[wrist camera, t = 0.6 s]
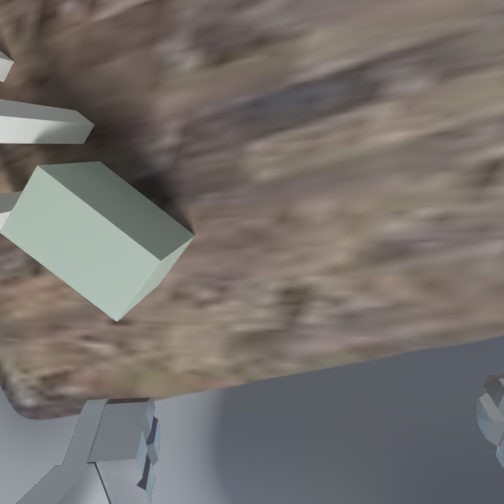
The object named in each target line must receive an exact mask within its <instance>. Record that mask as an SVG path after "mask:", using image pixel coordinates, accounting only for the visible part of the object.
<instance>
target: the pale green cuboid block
mask: <svg viewBox="0 0 504 504" xmlns="http://www.w3.org/2000/svg"><path fill="white" fill-rule="evenodd" d="M0 233H1V234H3V235H4V236H5V237H7V238H8V239H9V240H11V241H12V242H13V243H15V244H16V245H17V246H18V247H20V248H21V249H22V250H24V251H25V252H26V253H28V254H29V255H30V256H32V257H33V258H34V259H35V260H37V261H38V262H39V263H41V264H42V265H43V266H45V267H46V268H47V269H49V270H50V271H51V272H53V273H54V274H55V275H56V276H58V277H59V278H60V279H62V280H63V281H64V282H66V283H67V284H68V285H70V286H71V287H72V288H73V289H75V290H76V291H77V292H79V293H80V294H81V295H83V296H84V297H85V298H87V299H88V300H89V301H90V302H92V303H93V304H94V305H96V306H97V307H98V308H100V309H101V310H102V311H104V312H105V313H106V314H107V315H109V316H110V317H111V318H113V319H114V320H115V321H118V320H119V319H120V318H122V317H123V316H124V315H125V314H126V313H127V312H128V311H130V310H131V309H132V308H133V307H134V306H135V305H136V304H137V303H139V302H140V301H141V300H142V299H143V298H144V297H145V296H147V295H148V294H149V293H150V292H151V291H152V290H153V289H154V288H156V287H157V286H158V285H159V284H160V282H161V281H162V280H163V278H164V277H165V276H166V274H167V273H168V272H169V270H170V269H171V268H172V266H173V265H174V264H175V262H176V261H177V259H178V258H179V257H180V255H181V254H182V253H183V251H184V250H185V249H186V247H187V246H188V245H189V243H190V242H191V241H192V239H193V238H194V236H195V235H194V234H192V233H191V232H190V231H189V230H187V229H186V228H185V227H183V226H182V225H181V224H180V223H178V222H177V221H176V220H174V219H173V218H172V217H171V216H169V215H168V214H167V213H165V212H164V211H163V210H162V209H160V208H159V207H158V206H156V205H155V204H154V203H153V202H151V201H150V200H149V199H148V198H146V197H145V196H144V195H142V194H141V193H140V192H139V191H137V190H136V189H135V188H133V187H132V186H131V185H130V184H128V183H127V182H126V181H124V180H123V179H122V178H121V177H119V176H118V175H117V174H115V173H114V172H113V171H112V170H110V169H109V168H108V167H107V166H105V165H104V164H103V163H101V162H100V161H95V162H81V163H66V164H52V165H37V167H36V169H35V171H34V172H33V174H32V176H31V178H30V179H29V181H28V183H27V185H26V186H25V188H24V190H23V192H22V194H21V195H20V197H19V199H18V201H17V202H16V204H15V206H14V208H13V209H12V211H11V213H10V215H9V217H8V218H7V220H6V222H5V224H4V225H3V227H2V229H1V231H0Z"/></svg>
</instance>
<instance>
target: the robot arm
mask: <svg viewBox="0 0 504 504" xmlns="http://www.w3.org/2000/svg"><path fill="white" fill-rule="evenodd" d="M483 387H484V388H485V389H486V391H487V393H486V394H484V395H483V396H482V397H481V398H479V400H478V404H477V407H476V411H477V420H478V423H479V426H480V429H481V430H482V432H483V434H484V436H485V438H487V440H489V441H490V442H492V443H493V444H495V445H496V446H497V454H496V456H497V458H498V460H499V461H500V463H501V464H502V466H503V468H504V375H492V376H489V377H488V378H487V379H486V381H485V383H484V386H483ZM154 410H155V405H154V401H153V398H123V399H102V400H88V401H87V402H86V404H85V405H84V406H83V408H82V411H81V414H80V417H79V419H78V423H77V425H76V428H75V430H74V433H73V436H72V439H71V441H70V444H69V447H68V450H67V452H66V455H65V458H64V461H63V464H62V465H57V466H55V467H53V468H52V469H51V470H50V471H49V472H48V473H47V474H46V475H45V476H44V477H43V478H42V479H41V480H40V481H39V482H38V483H37V484H36V485H35V486H34V487H33V488H32V489H31V490H30V491H29V492H28V493H27V494H26V495H24V496H23V497H22V498H21V499H20V500H19V501H18V502H17V503H16V504H151V501H152V495H153V489H154V483H155V476H154V472H153V468H152V467H153V465H154V464H155V463H156V462H157V461H158V457H159V450H160V427H159V422H158V419H157V418H155V417H154Z"/></svg>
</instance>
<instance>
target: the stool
mask: <svg viewBox="0 0 504 504" xmlns="http://www.w3.org/2000/svg"><path fill="white" fill-rule="evenodd" d="M13 63H14V61H12V60H11V59H10V58H9V57H7V56H6V55H5V54H3V53H2V52H1V51H0V81H2V82H4V81H5V79H6V77H7V75H8V73H9V71H10V69H11V67H12V65H13ZM93 127H94V124H93V123H91V122H90V121H89V120H88V119H86V118H85V117H84V116H83V115H81V114H80V113H79V112H77V111H76V110H69V109H62V108H56V107H49V106H42V105H36V104H29V103H22V102H16V101H9V100H2V99H0V143H37V144H84V142H85V141H86V139H87V137H88V136H89V134H90V132H91V130H92V129H93ZM22 192H23V191H19V192H13V193H6V194H0V230H1V229H2V227H3V225H4V224H5V222H6V220H7V218H8V217H9V215H10V213H11V211H12V209H13V208H14V206H15V204H16V202H17V201H18V199H19V197H20V195H21V194H22Z"/></svg>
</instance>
